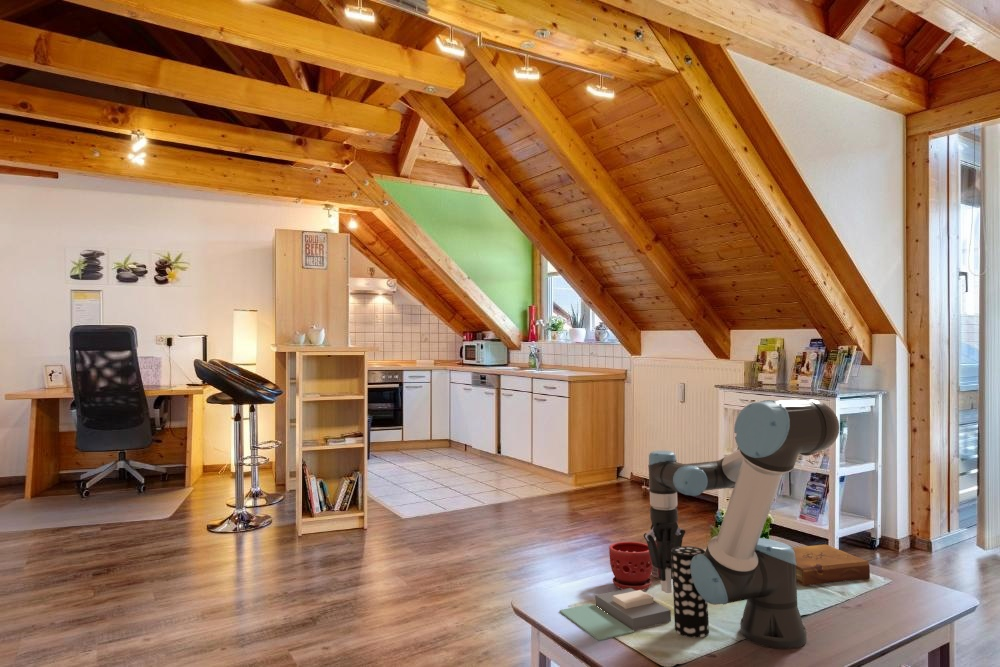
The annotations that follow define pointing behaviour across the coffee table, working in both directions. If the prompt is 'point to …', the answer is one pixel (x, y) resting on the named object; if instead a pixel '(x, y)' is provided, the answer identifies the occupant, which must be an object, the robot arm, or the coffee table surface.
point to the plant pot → (631, 565)
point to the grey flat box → (633, 611)
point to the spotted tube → (687, 595)
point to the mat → (596, 622)
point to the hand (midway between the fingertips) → (666, 591)
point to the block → (633, 599)
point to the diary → (828, 565)
